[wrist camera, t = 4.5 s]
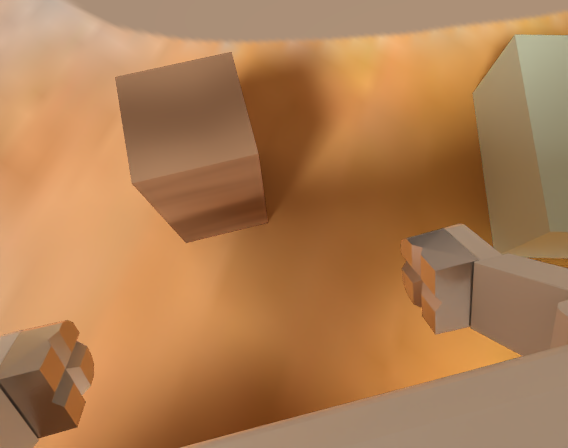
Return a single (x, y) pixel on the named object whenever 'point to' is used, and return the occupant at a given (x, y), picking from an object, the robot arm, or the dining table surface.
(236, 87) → the walnut block
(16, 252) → the dining table surface
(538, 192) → the base block
